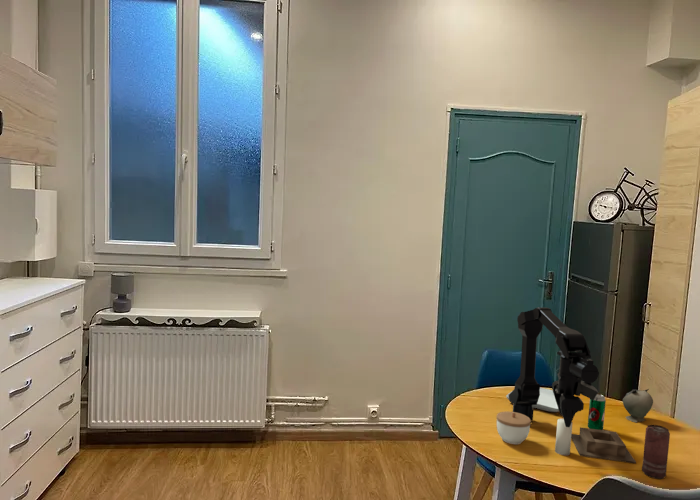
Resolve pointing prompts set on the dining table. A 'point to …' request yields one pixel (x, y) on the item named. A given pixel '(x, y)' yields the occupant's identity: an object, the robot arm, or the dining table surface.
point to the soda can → (596, 412)
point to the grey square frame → (601, 445)
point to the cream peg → (563, 438)
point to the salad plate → (545, 401)
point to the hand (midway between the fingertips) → (564, 421)
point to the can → (656, 451)
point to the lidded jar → (513, 427)
